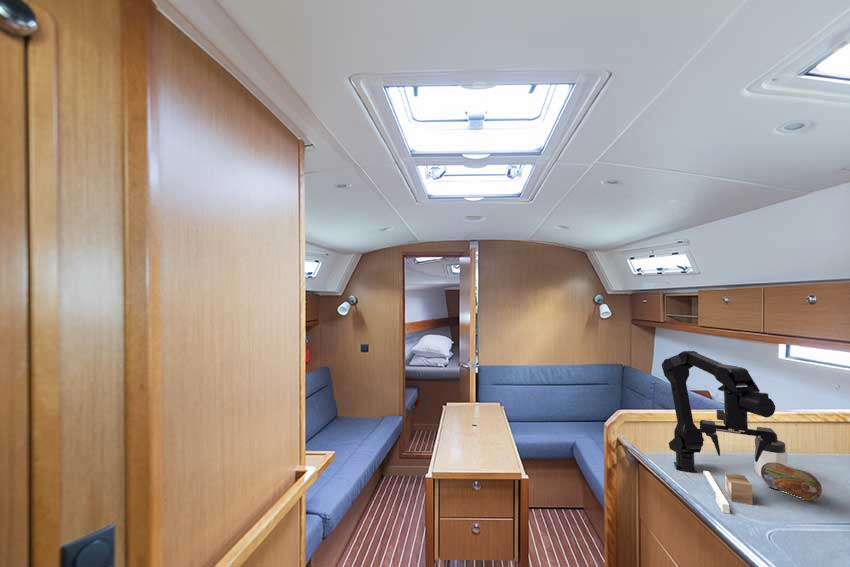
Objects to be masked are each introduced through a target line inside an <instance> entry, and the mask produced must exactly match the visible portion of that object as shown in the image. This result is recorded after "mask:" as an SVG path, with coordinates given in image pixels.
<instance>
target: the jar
mask: <svg viewBox="0 0 850 567" xmlns="http://www.w3.org/2000/svg"><path fill="white" fill-rule="evenodd" d="M771 443H772V445H767V446H766V448H765V449H764V450H763V452H762V453H761V455H760V457H759V459H758V461H757V462H755V446H756V437H755V438H754V445H753V459H754V462H753V463H754V473H755V474H757V475H758V476H759V477H760V478H762V475H761V468H762V466H763V465H764V464H766V463H780V464H783V465H786V466H788V461H789V460H788V452H787V451H786V450H787V449H786V443H785V442H783V441H782V440H779V439H777V443H774V442H771Z"/></svg>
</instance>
